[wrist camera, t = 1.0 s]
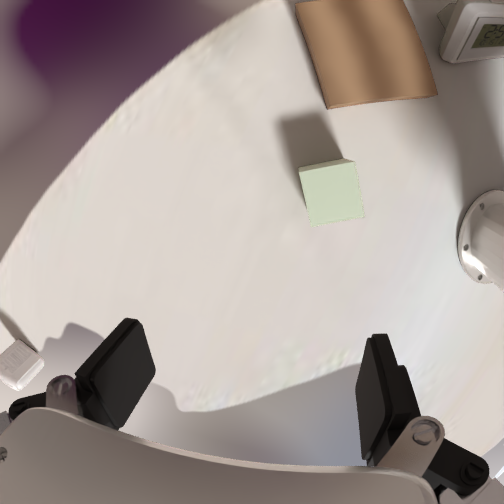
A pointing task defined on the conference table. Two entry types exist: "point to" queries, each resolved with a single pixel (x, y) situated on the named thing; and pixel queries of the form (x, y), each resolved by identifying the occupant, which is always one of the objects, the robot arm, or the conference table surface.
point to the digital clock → (472, 30)
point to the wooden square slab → (365, 51)
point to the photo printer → (19, 365)
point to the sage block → (331, 192)
